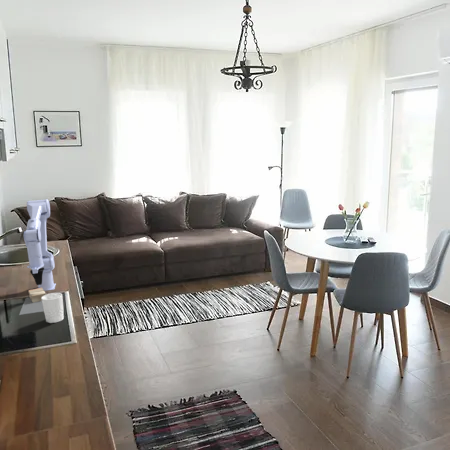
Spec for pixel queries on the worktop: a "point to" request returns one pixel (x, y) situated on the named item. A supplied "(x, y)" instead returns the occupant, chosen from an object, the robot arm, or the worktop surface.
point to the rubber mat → (31, 307)
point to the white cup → (53, 307)
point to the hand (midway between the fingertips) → (39, 284)
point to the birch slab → (36, 294)
